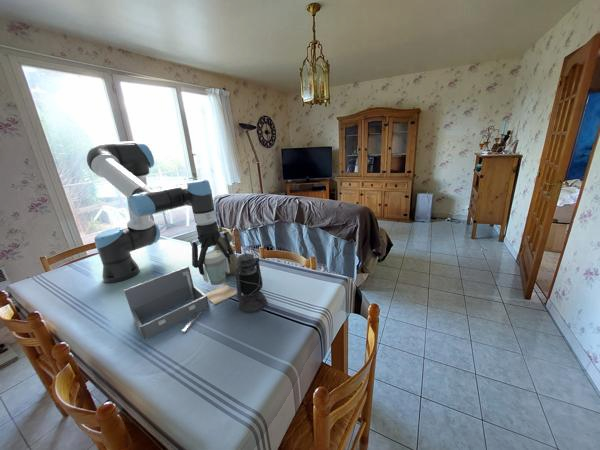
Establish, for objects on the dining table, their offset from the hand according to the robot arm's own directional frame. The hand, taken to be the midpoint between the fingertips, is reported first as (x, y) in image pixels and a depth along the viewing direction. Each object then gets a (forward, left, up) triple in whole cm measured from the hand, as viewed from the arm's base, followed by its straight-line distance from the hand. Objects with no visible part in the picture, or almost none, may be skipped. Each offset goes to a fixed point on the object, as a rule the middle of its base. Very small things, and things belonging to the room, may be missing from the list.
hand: (217, 276), depth 98 cm
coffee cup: (0, 0, -3) cm, 3 cm away
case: (-2, -18, -9) cm, 20 cm away
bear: (-14, +14, -9) cm, 22 cm away
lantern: (+16, +5, -9) cm, 19 cm away
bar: (+8, -15, -9) cm, 19 cm away
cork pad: (0, 0, -9) cm, 9 cm away
